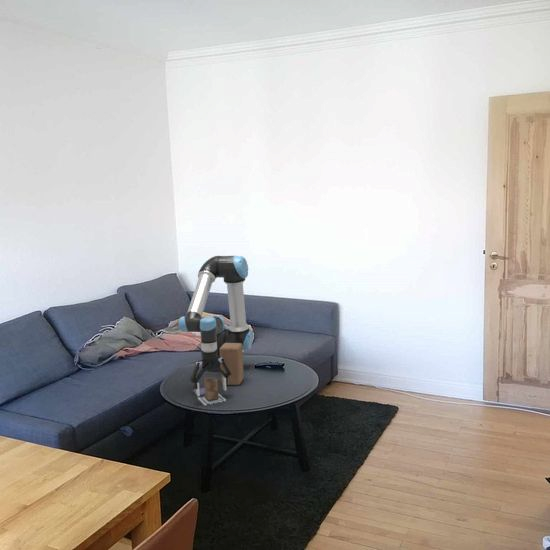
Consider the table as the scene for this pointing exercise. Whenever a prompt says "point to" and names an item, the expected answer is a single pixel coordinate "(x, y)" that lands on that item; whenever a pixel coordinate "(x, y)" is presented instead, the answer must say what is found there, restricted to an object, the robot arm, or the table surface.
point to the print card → (211, 401)
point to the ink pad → (202, 392)
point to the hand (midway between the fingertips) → (211, 392)
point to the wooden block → (232, 362)
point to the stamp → (211, 389)
